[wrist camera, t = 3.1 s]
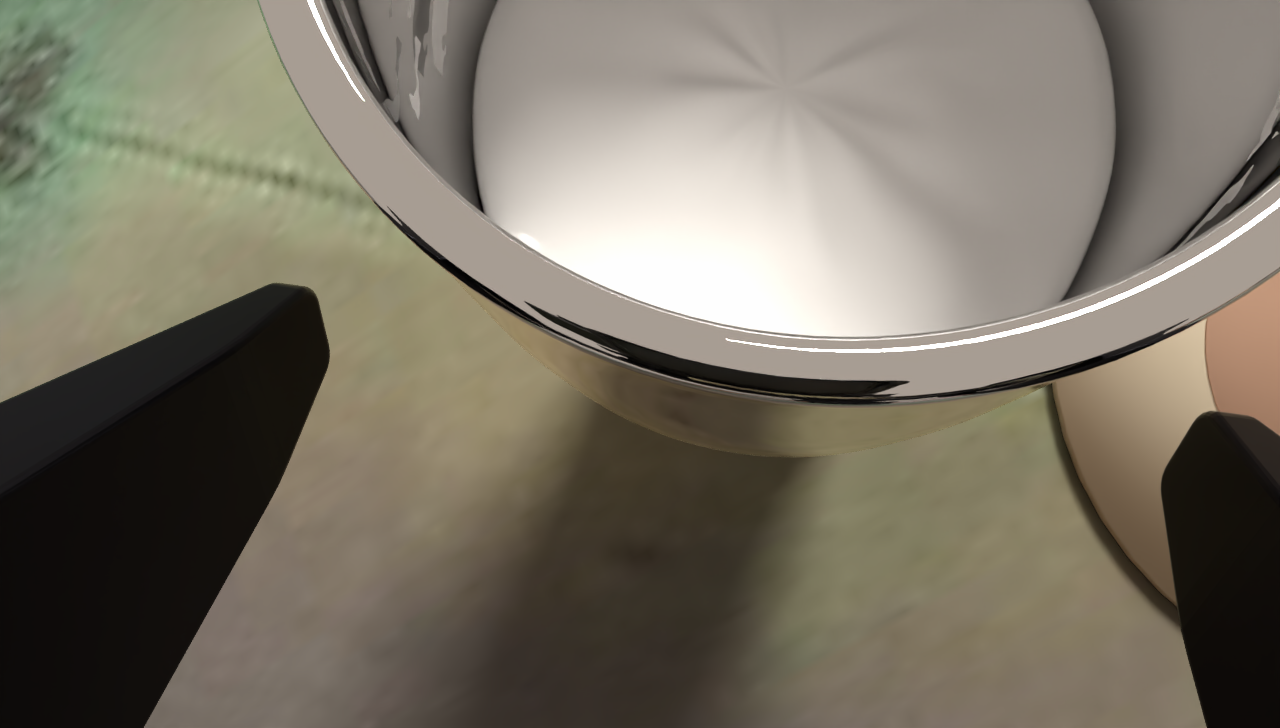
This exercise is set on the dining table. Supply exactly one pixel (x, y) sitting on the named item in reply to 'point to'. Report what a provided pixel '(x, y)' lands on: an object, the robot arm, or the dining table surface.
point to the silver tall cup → (812, 190)
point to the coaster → (1166, 416)
